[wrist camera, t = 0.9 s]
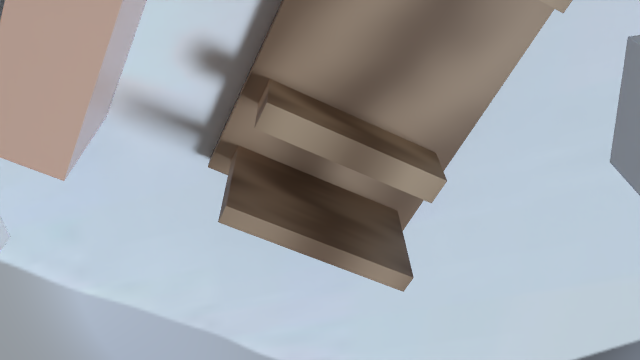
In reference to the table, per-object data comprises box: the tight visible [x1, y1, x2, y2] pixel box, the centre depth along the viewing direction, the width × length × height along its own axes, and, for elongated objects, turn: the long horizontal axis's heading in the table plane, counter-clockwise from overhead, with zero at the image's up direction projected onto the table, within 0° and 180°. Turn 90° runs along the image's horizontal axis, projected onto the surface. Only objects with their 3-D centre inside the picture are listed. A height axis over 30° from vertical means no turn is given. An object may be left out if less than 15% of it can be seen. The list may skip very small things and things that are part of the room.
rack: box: [208, 0, 572, 291], centre depth 28 cm, size 12×22×7 cm, turn 154°
